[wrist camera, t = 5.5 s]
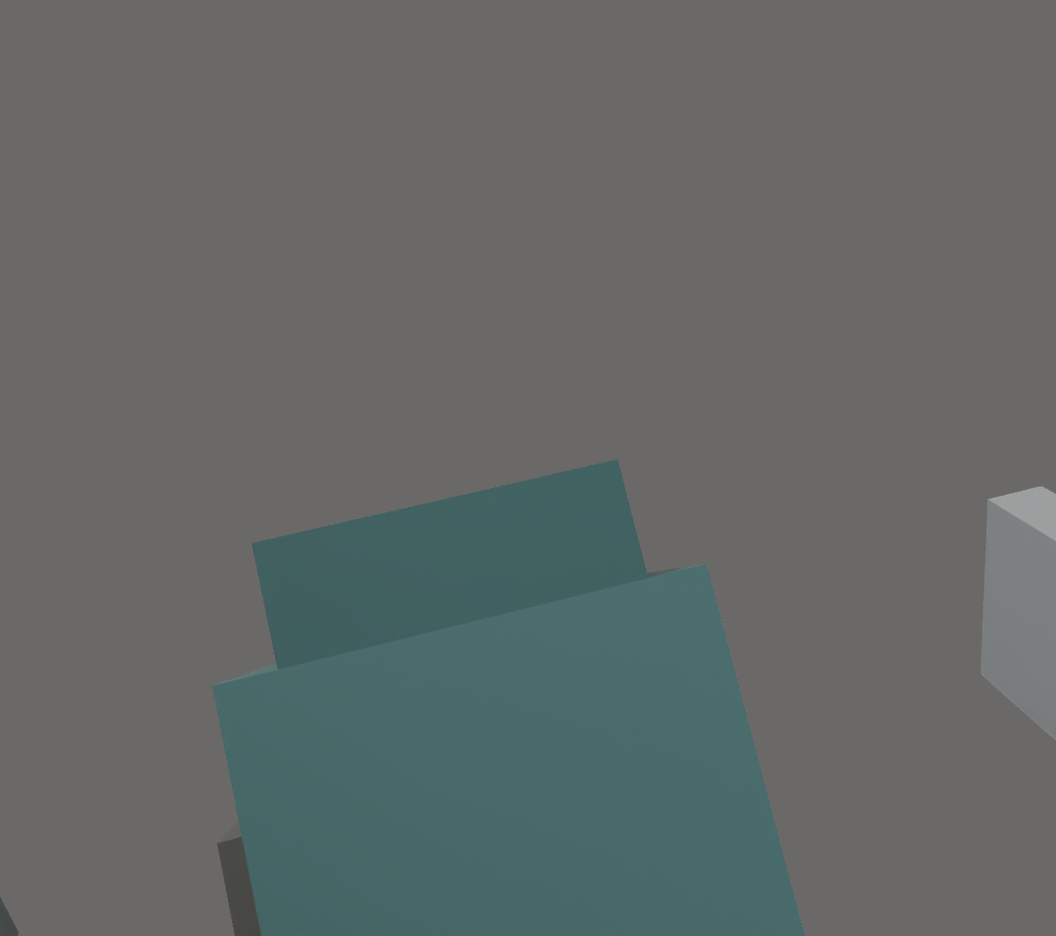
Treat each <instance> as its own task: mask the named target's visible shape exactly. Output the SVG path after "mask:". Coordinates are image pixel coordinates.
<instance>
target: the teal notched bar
mask: <svg viewBox="0 0 1056 936" xmlns="http://www.w3.org/2000/svg"><path fill="white" fill-rule="evenodd" d="M252 547H253V552H254V557H255V562H256V566H257V571H258V576H259V581H260V586H261V591H262V596H263V601H264V605H265V610H266V615H267V620H268V625H269V630H270V635H271V640H272V645H273V649H274V654H275V659H276V663H275V664H272V665H270V666H267V667H264V668H261V669H258V670H256V671H253V672H250V673H247V674H244V675H242V676H239V677H236V678H233V679H230V680H227V681H225V682H222V683H219V684H216V685H213V686H212V687H213V692H214V698H215V702H216V708H217V713H218V717H219V723H220V728H221V733H222V738H223V743H224V749H225V754H226V759H227V764H228V769H229V774H230V779H231V784H232V789H233V794H234V799H235V805H236V809H237V815H238V820H239V825H240V830H241V835H242V840H243V845H244V850H245V856H246V861H247V866H248V871H249V876H250V881H251V886H252V891H253V896H254V901H255V907H256V912H257V917H258V922H259V927H260V932H261V936H804V932H803V929H802V924H801V920H800V917H799V913H798V909H797V905H796V902H795V898H794V894H793V890H792V887H791V883H790V879H789V875H788V871H787V867H786V864H785V860H784V856H783V852H782V849H781V845H780V841H779V837H778V833H777V830H776V826H775V822H774V818H773V815H772V811H771V807H770V804H769V799H768V795H767V792H766V788H765V784H764V780H763V776H762V773H761V769H760V765H759V761H758V757H757V754H756V750H755V746H754V742H753V739H752V735H751V731H750V727H749V723H748V720H747V716H746V712H745V708H744V704H743V701H742V698H741V693H740V690H739V685H738V682H737V678H736V674H735V670H734V667H733V663H732V659H731V655H730V652H729V648H728V644H727V640H726V636H725V632H724V629H723V625H722V621H721V617H720V613H719V610H718V606H717V602H716V598H715V595H714V591H713V587H712V583H711V579H710V576H709V572H708V568H707V565H706V564H702V565H696V566H690V567H683V568H676V569H670V570H664V571H657V572H650V573H647V572H646V568H645V564H644V560H643V556H642V552H641V549H640V544H639V541H638V537H637V533H636V529H635V525H634V521H633V517H632V513H631V509H630V505H629V502H628V498H627V494H626V490H625V486H624V482H623V478H622V474H621V470H620V466H619V462H618V460H613V461H608V462H604V463H599V464H596V465H591V466H587V467H582V468H578V469H573V470H570V471H565V472H560V473H556V474H552V475H547V476H543V477H539V478H534V479H530V480H525V481H522V482H517V483H512V484H508V485H504V486H499V487H495V488H491V489H486V490H482V491H477V492H473V493H469V494H465V495H460V496H456V497H451V498H447V499H443V500H439V501H434V502H430V503H426V504H421V505H417V506H412V507H408V508H403V509H399V510H395V511H390V512H386V513H382V514H377V515H373V516H369V517H364V518H360V519H356V520H351V521H347V522H342V523H339V524H334V525H329V526H325V527H321V528H317V529H312V530H308V531H303V532H300V533H295V534H290V535H286V536H281V537H277V538H273V539H269V540H264V541H260V542H255V543H252Z"/></svg>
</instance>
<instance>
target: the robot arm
mask: <svg viewBox="0 0 1056 936" xmlns="http://www.w3.org/2000/svg"><path fill="white" fill-rule="evenodd" d="M987 509H988V510H987V532H986V533H987V534H986V557H985V559H986V560H985V581H984V606H983V631H982V656H981V675H983V677H985V678H986V679H987V680H988V681H989V682H990V683H991V684H993V685H994V686H995V687H996V688H997V689H998V690H999V691H1000V692H1001V693H1003V694H1004V695H1005V696H1006V697H1007V698H1008V699H1009V700H1010V701H1012V702H1013V703H1014V704H1015V705H1016V706H1017V707H1019V708H1020V709H1021V710H1022V711H1023V712H1024V713H1025V714H1026V715H1027V716H1029V717H1030V718H1031V719H1032V720H1033V721H1034V722H1035V723H1036V724H1038V725H1039V726H1040V727H1041V728H1042V729H1043V730H1044V731H1045V732H1047V733H1048V734H1049V735H1050V736H1051V737H1052V738H1053V739H1054V740H1056V494H1055V493H1053V492H1051V491H1049V490H1047V489H1045V488H1044V487H1041V486H1040V487H1036V488H1033V489H1028V490H1024V491H1020V492H1016V493H1012V494H1008V495H1004V496H1000V497H996V498H991V499H988V508H987ZM18 933H19V932H18V930H17V928H16V927H15V925H14V923H13V921H12V919H11V917H10V915H9V913H8V911H7V909H6V908H5V905H4V903H3V902H2V900H1V898H0V936H18Z"/></svg>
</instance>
